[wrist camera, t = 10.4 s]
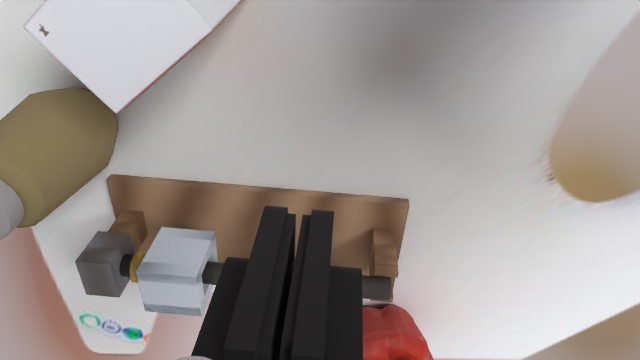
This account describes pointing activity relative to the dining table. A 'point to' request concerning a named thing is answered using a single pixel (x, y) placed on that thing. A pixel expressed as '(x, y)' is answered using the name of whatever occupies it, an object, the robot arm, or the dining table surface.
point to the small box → (123, 40)
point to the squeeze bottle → (51, 152)
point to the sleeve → (177, 271)
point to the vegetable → (392, 335)
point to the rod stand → (239, 228)
